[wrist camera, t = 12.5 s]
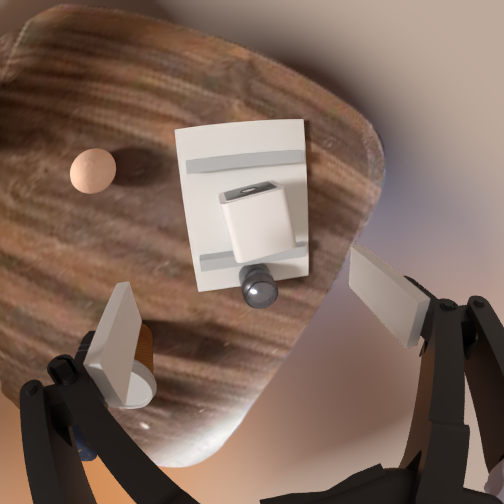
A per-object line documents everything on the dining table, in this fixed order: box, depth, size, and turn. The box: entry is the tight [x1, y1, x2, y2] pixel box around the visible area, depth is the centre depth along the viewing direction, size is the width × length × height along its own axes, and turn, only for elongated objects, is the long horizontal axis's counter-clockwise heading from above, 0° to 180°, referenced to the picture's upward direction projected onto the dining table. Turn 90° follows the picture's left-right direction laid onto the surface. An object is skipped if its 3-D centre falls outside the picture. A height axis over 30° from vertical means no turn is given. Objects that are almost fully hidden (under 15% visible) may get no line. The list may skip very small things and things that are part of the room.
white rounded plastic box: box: [218, 180, 297, 263], centre depth 32 cm, size 6×7×10 cm
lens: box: [239, 263, 278, 308], centre depth 38 cm, size 4×4×6 cm
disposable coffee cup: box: [121, 323, 157, 409], centre depth 37 cm, size 10×10×12 cm
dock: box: [175, 119, 308, 292], centre depth 36 cm, size 22×16×3 cm
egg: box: [70, 148, 116, 193], centre depth 29 cm, size 5×5×8 cm
